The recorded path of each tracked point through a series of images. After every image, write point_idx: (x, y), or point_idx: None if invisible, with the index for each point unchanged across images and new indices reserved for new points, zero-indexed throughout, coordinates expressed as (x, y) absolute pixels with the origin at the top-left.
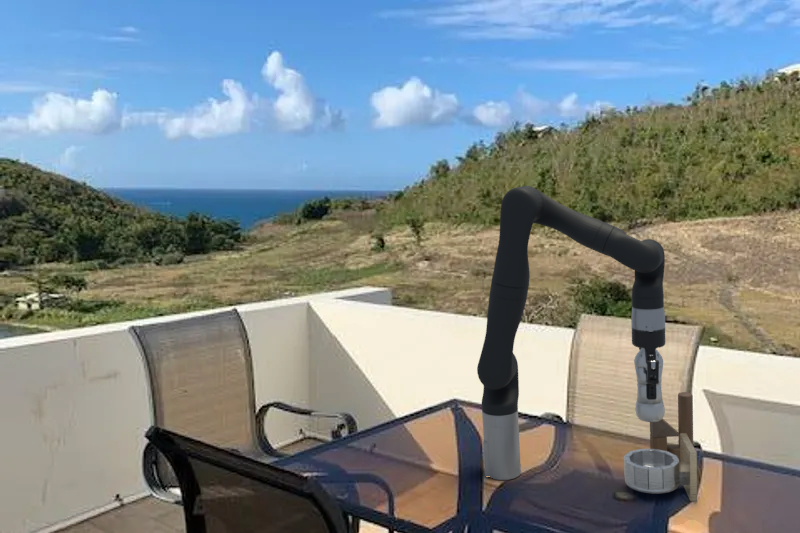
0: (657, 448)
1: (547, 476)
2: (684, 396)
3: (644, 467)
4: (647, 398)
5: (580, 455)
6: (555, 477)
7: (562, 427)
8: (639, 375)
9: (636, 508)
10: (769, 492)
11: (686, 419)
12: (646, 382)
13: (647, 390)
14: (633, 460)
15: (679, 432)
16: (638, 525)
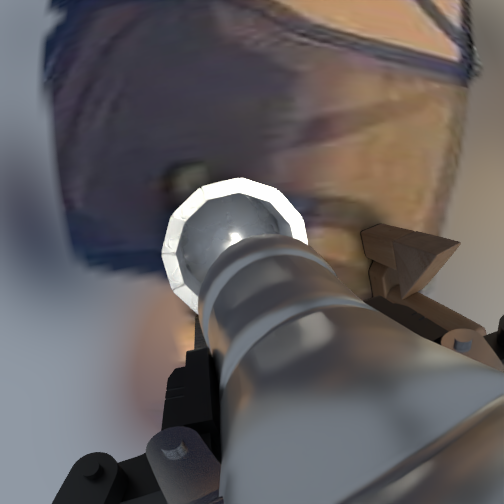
0: (378, 245)
1: (251, 29)
2: None
3: (171, 242)
4: (188, 353)
5: (367, 86)
6: (249, 42)
7: (457, 72)
8: (259, 418)
9: (134, 218)
10: None
11: None
12: (147, 447)
13: (187, 391)
14: (263, 200)
15: (411, 297)
16: (71, 231)
